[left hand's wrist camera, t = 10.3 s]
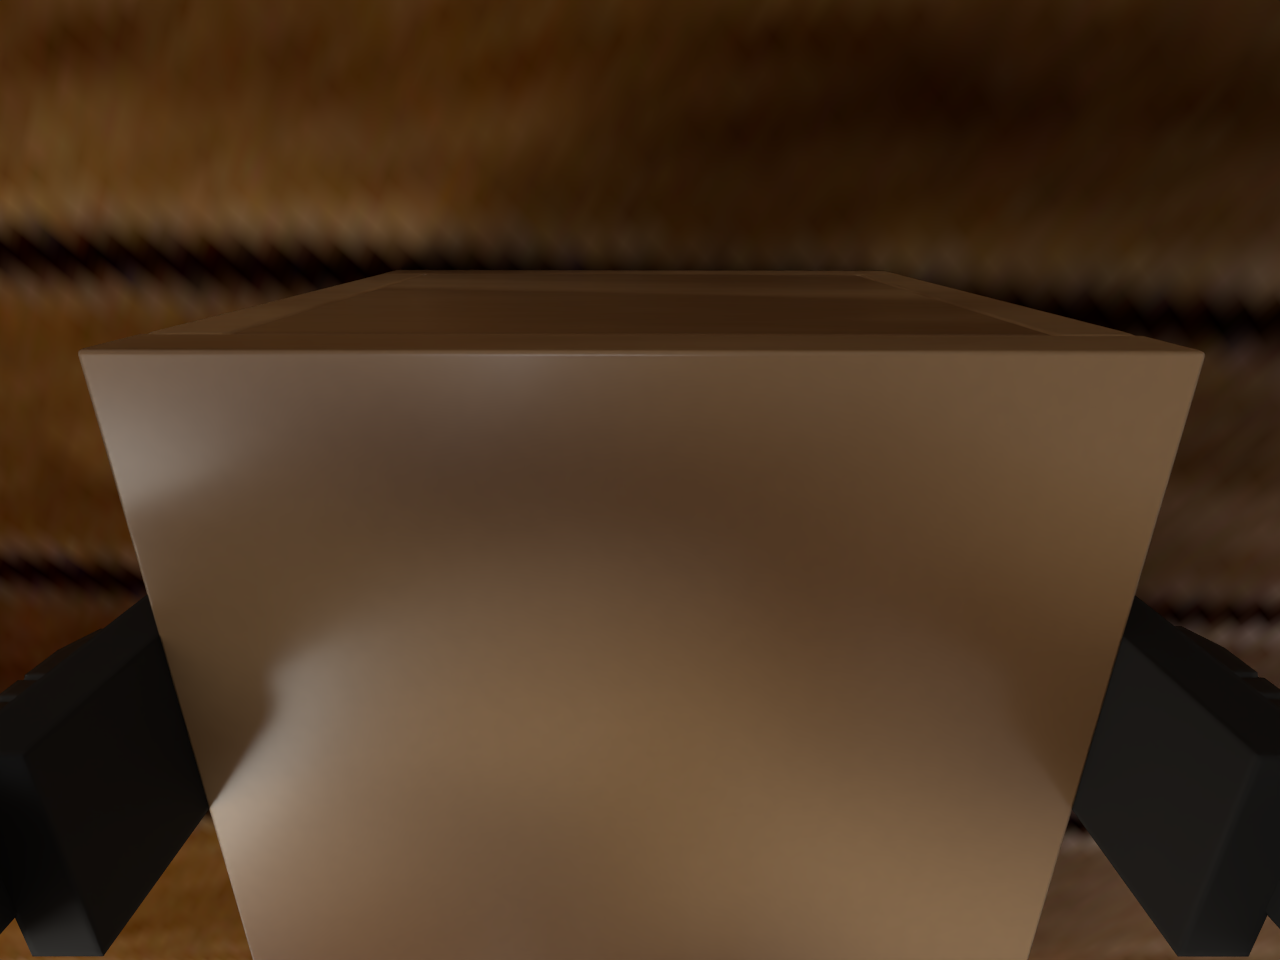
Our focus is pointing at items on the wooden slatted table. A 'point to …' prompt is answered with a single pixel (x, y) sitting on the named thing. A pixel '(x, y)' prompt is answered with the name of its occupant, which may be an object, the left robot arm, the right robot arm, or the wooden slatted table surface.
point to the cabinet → (640, 604)
